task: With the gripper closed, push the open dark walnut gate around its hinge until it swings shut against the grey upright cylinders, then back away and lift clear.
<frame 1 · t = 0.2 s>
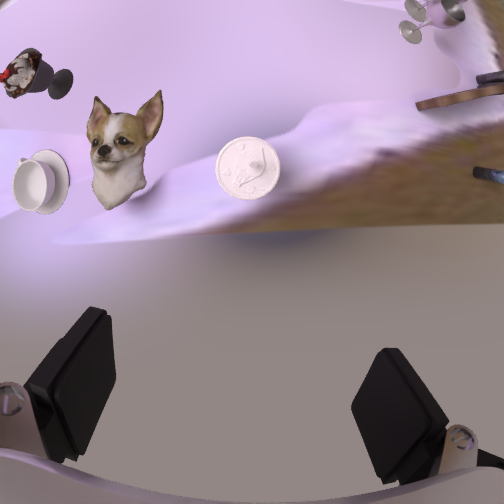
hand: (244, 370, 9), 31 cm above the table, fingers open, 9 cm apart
teacup: (46, 181, 36), on the table
smoothie: (245, 165, 37), on the table
ceramic sculpture: (129, 147, 36), on the table
gate: (469, 94, 30), point 4 cm above the table, hinge at -55.0°
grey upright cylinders: (479, 91, 33), on the table
sundae: (61, 84, 31), on the table
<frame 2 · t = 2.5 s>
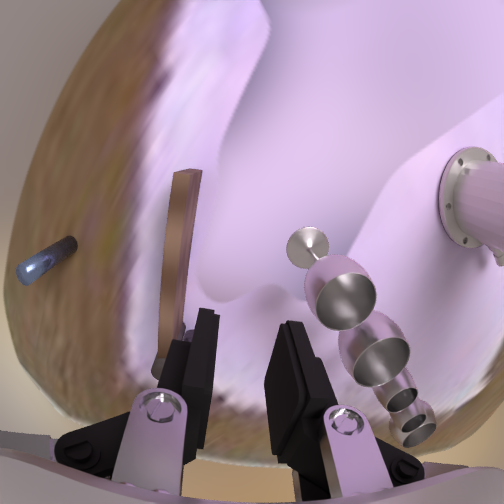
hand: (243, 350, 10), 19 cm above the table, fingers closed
gate: (175, 275, 25), point 4 cm above the table, hinge at -55.0°
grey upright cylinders: (177, 324, 32), on the table
goblet set: (355, 323, 33), on the table
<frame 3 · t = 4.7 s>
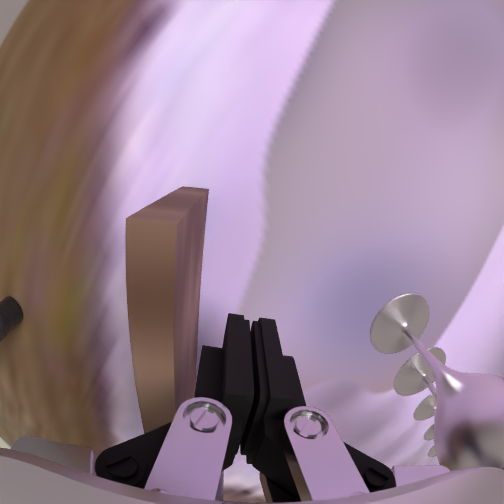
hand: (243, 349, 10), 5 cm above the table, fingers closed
gate: (174, 403, 12), point 4 cm above the table, hinge at -51.4°, touching gripper
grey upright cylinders: (187, 429, 18), on the table
goblet set: (431, 404, 20), on the table
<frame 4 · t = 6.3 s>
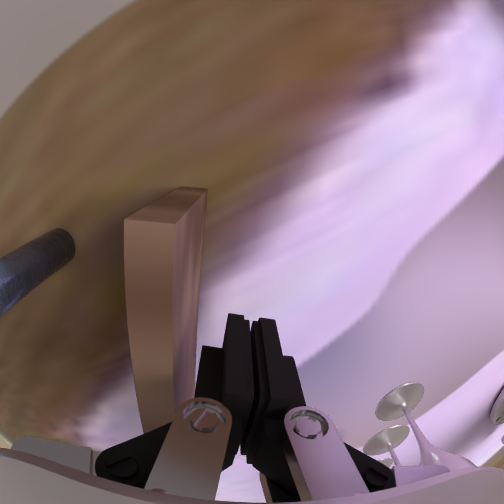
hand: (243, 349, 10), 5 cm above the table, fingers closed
gate: (173, 403, 12), point 4 cm above the table, hinge at -22.7°, touching gripper
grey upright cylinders: (186, 429, 18), on the table
goblet set: (374, 467, 23), on the table
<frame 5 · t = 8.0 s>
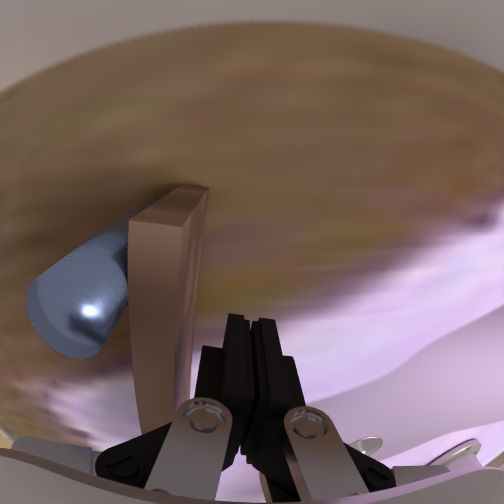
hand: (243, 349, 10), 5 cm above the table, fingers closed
gate: (170, 402, 12), point 4 cm above the table, hinge at 0.8°, touching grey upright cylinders, gripper
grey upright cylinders: (180, 427, 18), on the table
goblet set: (305, 497, 25), on the table
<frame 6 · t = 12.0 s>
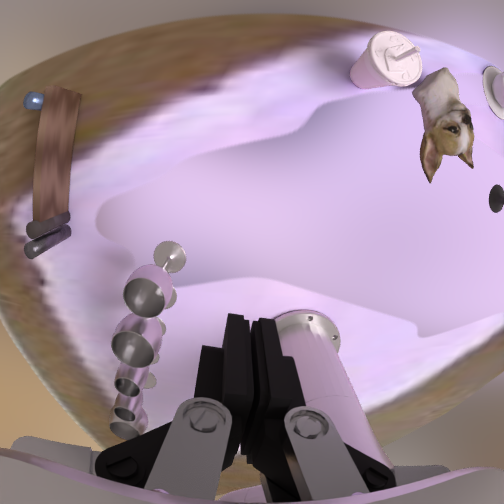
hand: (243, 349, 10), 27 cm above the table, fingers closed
teacup: (497, 93, 31), on the table
smoothie: (362, 76, 31), on the table
ceramic sculpture: (431, 125, 33), on the table
gate: (52, 160, 28), point 4 cm above the table, hinge at 0.8°
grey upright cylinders: (66, 215, 35), on the table
goblet set: (153, 327, 41), on the table
sundae: (495, 198, 37), on the table
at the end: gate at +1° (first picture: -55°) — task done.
